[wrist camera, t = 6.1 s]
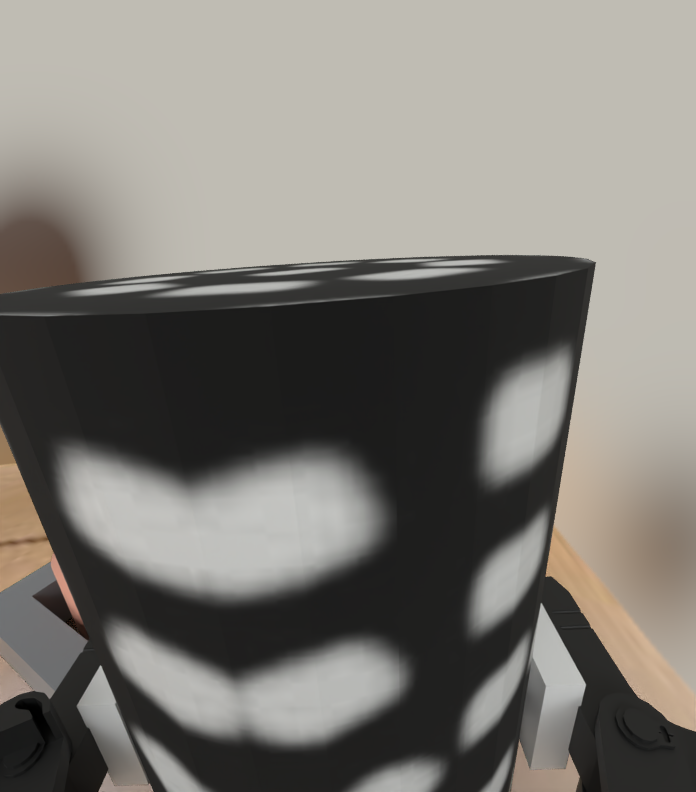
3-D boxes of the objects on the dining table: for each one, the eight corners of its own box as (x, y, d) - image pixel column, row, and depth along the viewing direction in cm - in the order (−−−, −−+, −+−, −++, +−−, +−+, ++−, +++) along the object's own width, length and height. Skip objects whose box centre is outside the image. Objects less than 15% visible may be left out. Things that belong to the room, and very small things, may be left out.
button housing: (-7, 648, 22) (-28, 609, 21) (161, 530, 31) (152, 499, 30) (100, 759, 17) (79, 715, 16) (266, 579, 26) (260, 543, 25)
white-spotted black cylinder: (369, 692, 19) (343, 259, 12) (536, 899, 13) (696, 249, 6) (198, 849, 14) (-15, 288, 7) (331, 1298, 8) (-296, 434, 1)
